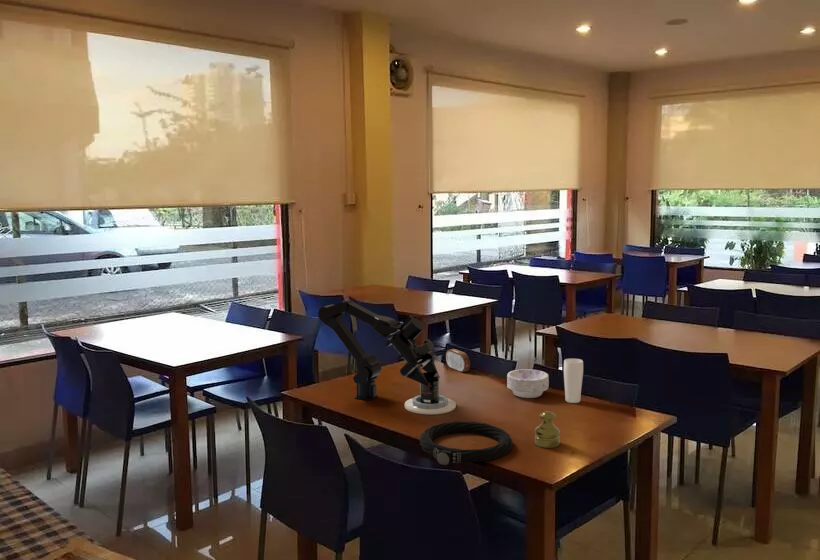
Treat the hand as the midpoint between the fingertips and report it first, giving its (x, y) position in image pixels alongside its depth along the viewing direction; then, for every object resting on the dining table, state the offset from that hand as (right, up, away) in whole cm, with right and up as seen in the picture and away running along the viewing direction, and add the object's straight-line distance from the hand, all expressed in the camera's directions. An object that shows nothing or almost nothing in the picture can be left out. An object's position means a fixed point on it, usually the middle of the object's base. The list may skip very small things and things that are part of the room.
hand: (433, 381), depth 241 cm
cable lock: (+8, -14, -37) cm, 40 cm away
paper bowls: (+35, -7, +15) cm, 39 cm away
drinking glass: (+50, -8, +6) cm, 51 cm away
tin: (+12, -3, +51) cm, 53 cm away
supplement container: (-1, -8, +2) cm, 8 cm away
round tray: (-1, -9, +2) cm, 9 cm away
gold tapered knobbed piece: (+33, -14, -35) cm, 50 cm away
